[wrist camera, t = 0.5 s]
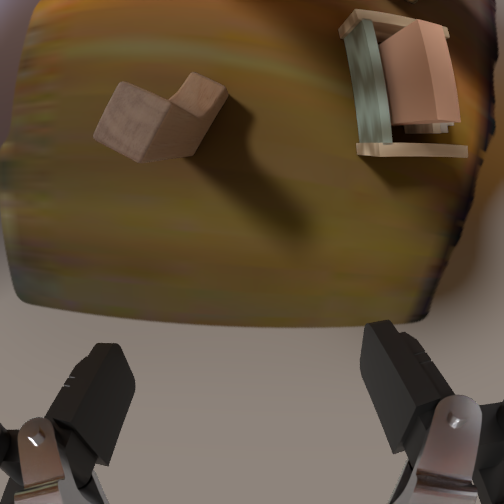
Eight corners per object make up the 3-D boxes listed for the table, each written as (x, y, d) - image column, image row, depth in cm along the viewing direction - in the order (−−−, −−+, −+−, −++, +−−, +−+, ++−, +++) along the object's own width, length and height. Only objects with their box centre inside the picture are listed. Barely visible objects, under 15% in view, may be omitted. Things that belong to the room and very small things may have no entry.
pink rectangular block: (364, 54, 29) (417, 19, 16) (384, 56, 29) (441, 25, 16) (375, 125, 33) (437, 119, 19) (395, 126, 33) (460, 122, 19)
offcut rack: (338, 29, 28) (355, 8, 21) (421, 40, 28) (447, 27, 21) (357, 154, 34) (379, 156, 27) (437, 154, 34) (468, 157, 27)
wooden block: (198, 79, 31) (154, 22, 14) (230, 94, 31) (212, 44, 14) (162, 141, 33) (89, 138, 16) (192, 157, 34) (141, 165, 17)
